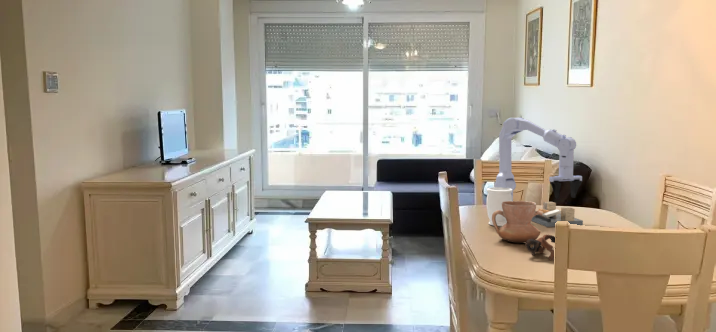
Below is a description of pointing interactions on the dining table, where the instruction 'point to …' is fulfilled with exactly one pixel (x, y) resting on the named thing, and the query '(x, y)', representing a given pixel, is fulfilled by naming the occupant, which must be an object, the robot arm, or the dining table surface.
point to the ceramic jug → (517, 221)
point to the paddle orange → (544, 211)
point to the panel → (565, 215)
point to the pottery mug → (539, 248)
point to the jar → (497, 203)
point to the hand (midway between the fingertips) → (565, 197)
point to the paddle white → (552, 213)
